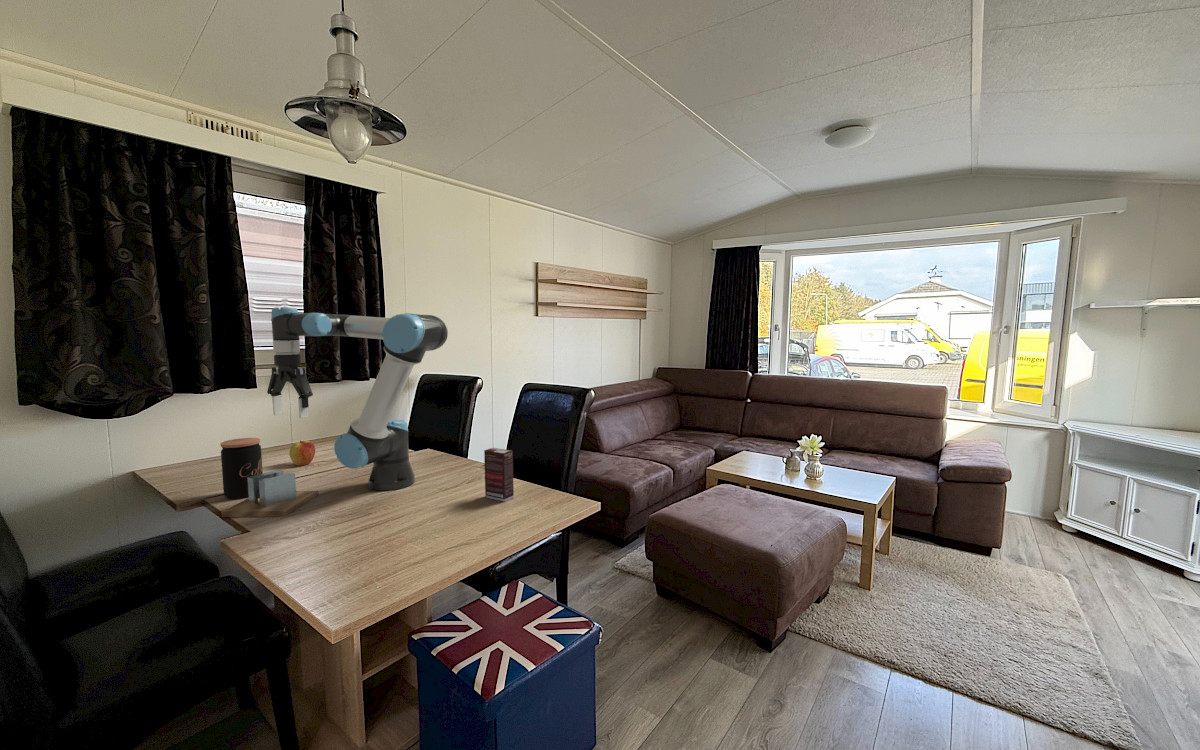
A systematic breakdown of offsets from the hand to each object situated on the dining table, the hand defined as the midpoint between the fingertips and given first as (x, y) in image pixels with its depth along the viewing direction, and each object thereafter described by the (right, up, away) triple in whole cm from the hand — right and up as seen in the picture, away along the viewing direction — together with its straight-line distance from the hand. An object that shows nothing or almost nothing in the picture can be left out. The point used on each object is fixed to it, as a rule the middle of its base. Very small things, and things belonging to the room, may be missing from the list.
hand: (291, 416), depth 162 cm
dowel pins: (+3, -25, -14) cm, 29 cm away
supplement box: (+72, -26, -6) cm, 77 cm away
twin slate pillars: (+3, -25, -13) cm, 29 cm away
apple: (-16, -23, +33) cm, 43 cm away
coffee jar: (-14, -26, -3) cm, 29 cm away
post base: (+3, -27, -13) cm, 30 cm away
